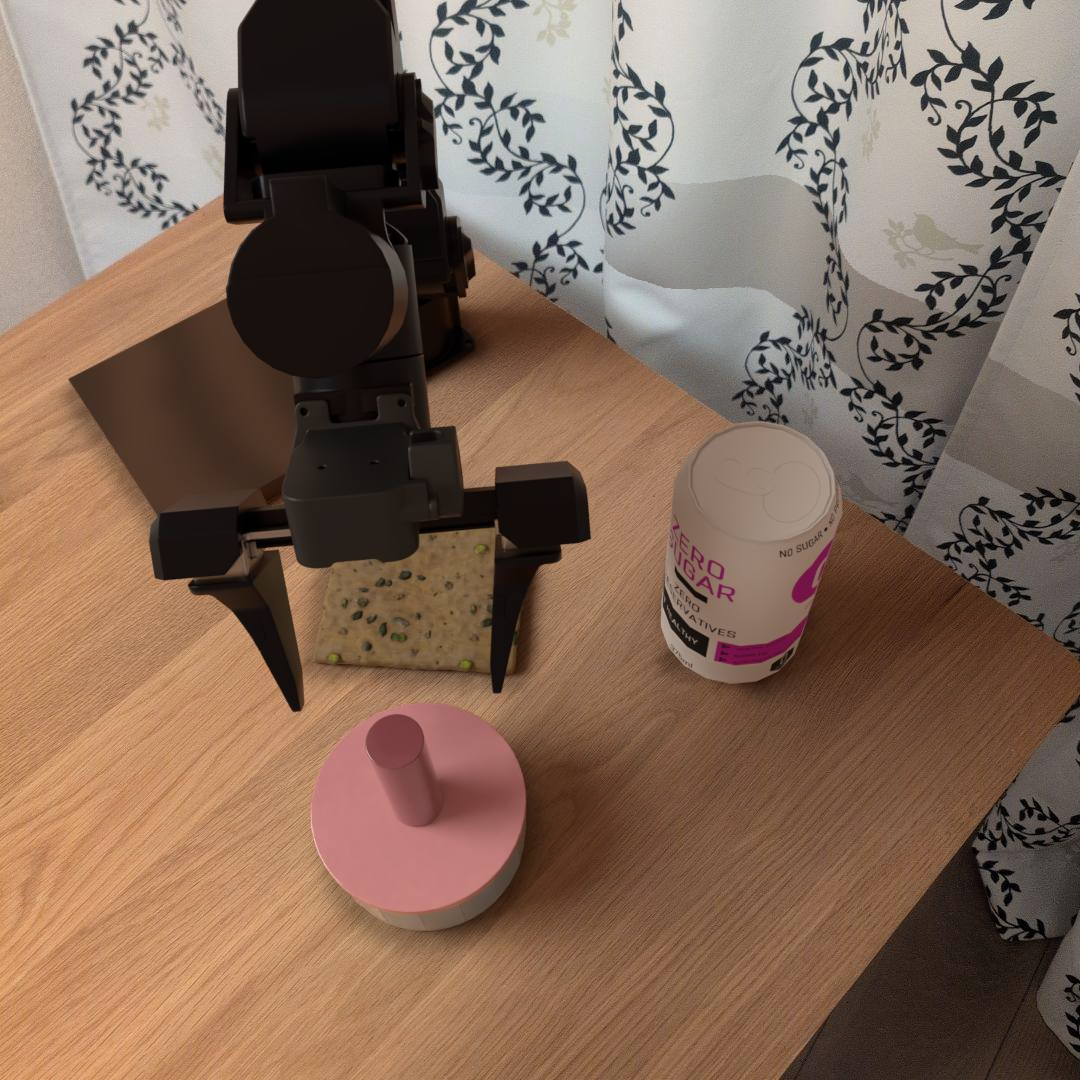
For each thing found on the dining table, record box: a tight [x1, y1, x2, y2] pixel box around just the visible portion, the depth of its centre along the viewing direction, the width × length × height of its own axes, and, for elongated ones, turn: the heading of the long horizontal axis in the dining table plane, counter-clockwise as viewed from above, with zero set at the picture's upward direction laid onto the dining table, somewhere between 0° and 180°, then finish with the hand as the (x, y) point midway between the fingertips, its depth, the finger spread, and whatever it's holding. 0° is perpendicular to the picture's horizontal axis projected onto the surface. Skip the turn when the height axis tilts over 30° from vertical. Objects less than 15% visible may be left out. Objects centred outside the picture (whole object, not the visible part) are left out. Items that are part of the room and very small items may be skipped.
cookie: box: [312, 528, 524, 675], centre depth 69 cm, size 12×12×1 cm
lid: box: [309, 702, 527, 915], centre depth 55 cm, size 11×11×9 cm
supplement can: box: [660, 420, 844, 685], centre depth 61 cm, size 8×8×15 cm
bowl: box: [350, 819, 527, 932], centre depth 60 cm, size 10×10×4 cm
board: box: [67, 297, 296, 518], centre depth 77 cm, size 13×16×2 cm
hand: (398, 699), depth 53 cm, fingers open, 9 cm apart
